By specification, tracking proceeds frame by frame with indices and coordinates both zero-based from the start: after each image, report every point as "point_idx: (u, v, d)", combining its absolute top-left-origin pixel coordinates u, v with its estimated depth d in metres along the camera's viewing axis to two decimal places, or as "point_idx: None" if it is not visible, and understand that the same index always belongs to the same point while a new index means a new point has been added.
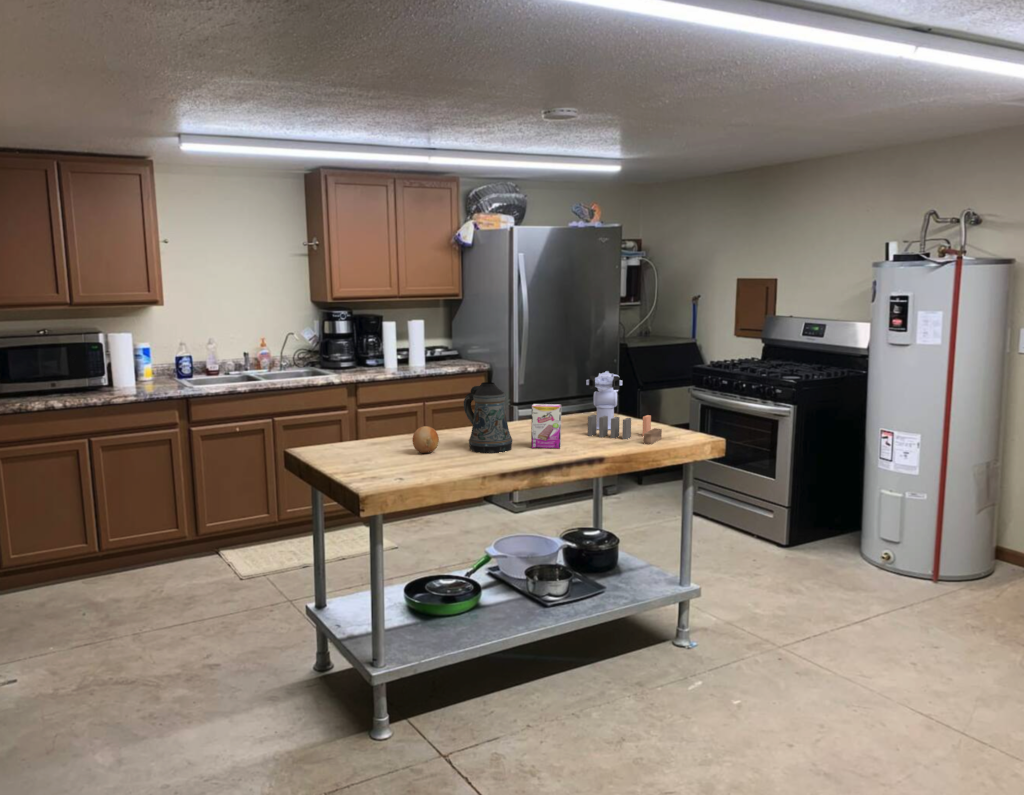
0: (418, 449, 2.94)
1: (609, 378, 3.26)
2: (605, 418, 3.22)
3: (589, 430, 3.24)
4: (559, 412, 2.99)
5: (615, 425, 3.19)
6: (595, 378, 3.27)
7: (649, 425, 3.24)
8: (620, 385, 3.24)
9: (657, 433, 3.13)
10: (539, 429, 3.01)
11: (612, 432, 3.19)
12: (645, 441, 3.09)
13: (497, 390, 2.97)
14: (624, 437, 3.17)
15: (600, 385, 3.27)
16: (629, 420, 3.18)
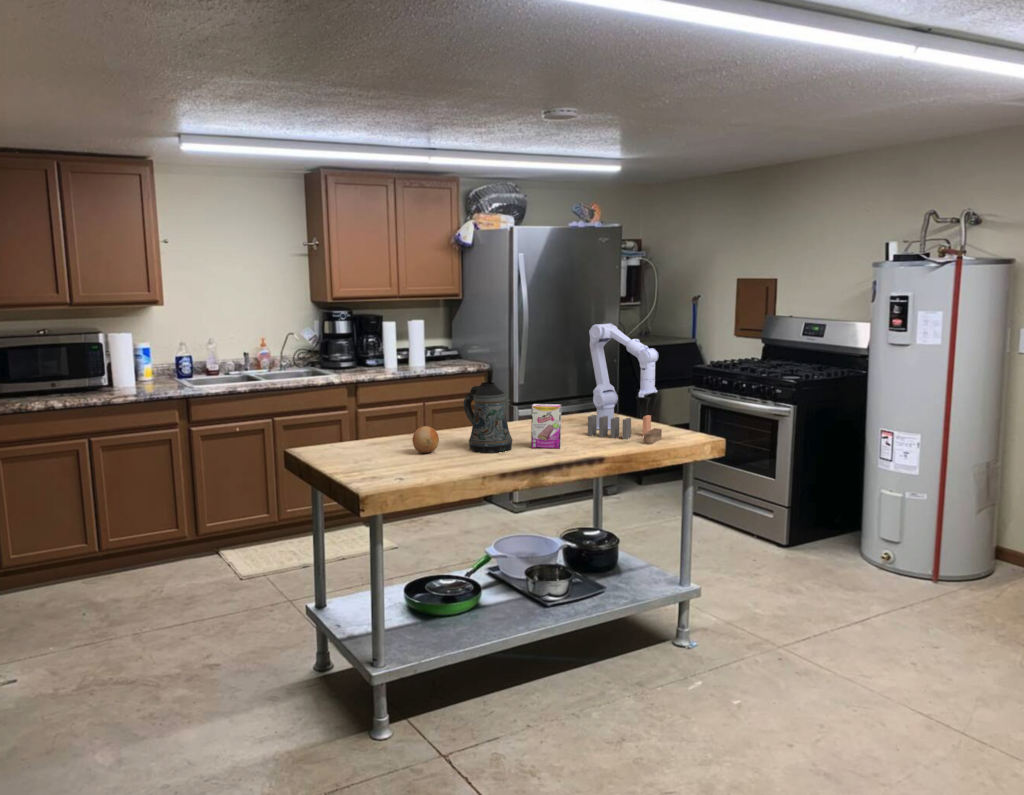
0: (418, 449, 2.94)
1: None
2: (605, 418, 3.22)
3: (589, 430, 3.24)
4: (559, 412, 2.99)
5: (615, 425, 3.19)
6: None
7: (649, 425, 3.24)
8: None
9: (657, 433, 3.13)
10: (539, 429, 3.01)
11: (612, 432, 3.19)
12: (645, 441, 3.09)
13: (497, 390, 2.97)
14: (624, 437, 3.17)
15: None
16: (629, 420, 3.18)
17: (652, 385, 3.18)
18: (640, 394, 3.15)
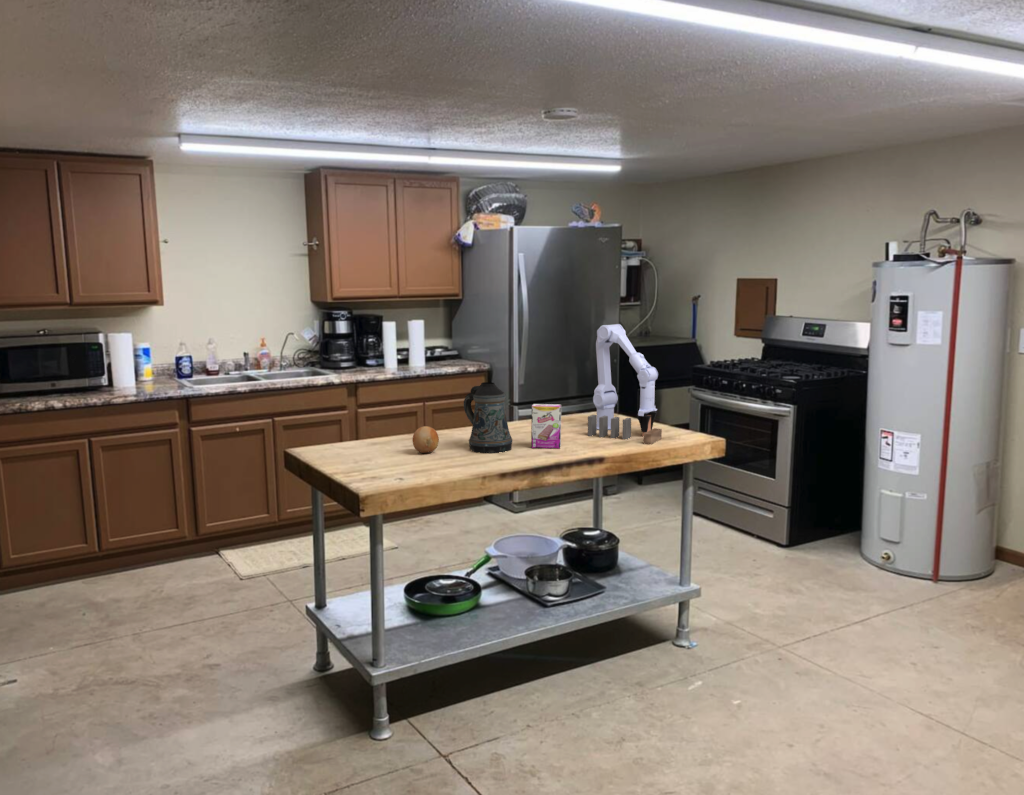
0: (418, 449, 2.94)
1: None
2: (605, 418, 3.22)
3: (589, 430, 3.24)
4: (559, 412, 2.99)
5: (615, 425, 3.19)
6: (647, 412, 3.19)
7: (649, 425, 3.24)
8: None
9: (657, 433, 3.13)
10: (539, 429, 3.01)
11: (612, 432, 3.19)
12: (645, 441, 3.09)
13: (497, 390, 2.97)
14: (624, 437, 3.17)
15: None
16: (629, 420, 3.18)
17: (651, 404, 3.20)
18: (640, 413, 3.16)
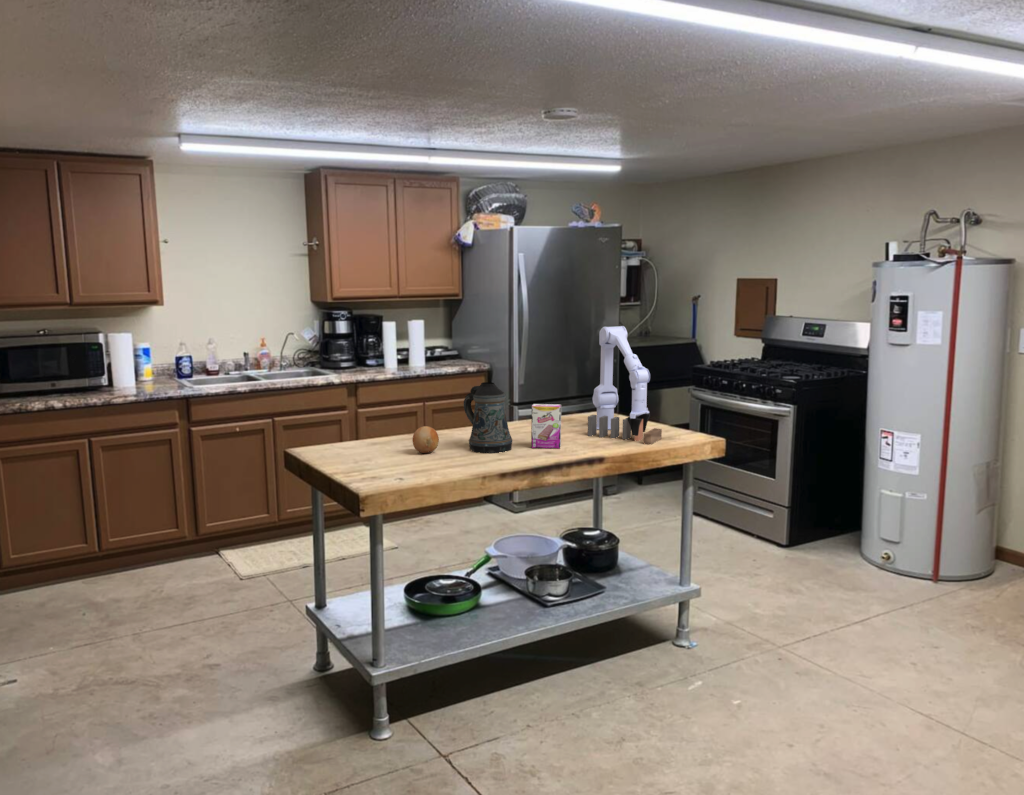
0: (418, 449, 2.94)
1: None
2: (605, 418, 3.22)
3: (589, 430, 3.24)
4: (559, 412, 2.99)
5: (615, 425, 3.19)
6: (639, 414, 3.11)
7: (641, 429, 3.16)
8: None
9: (657, 433, 3.13)
10: (539, 429, 3.01)
11: (612, 432, 3.19)
12: (645, 441, 3.09)
13: (497, 390, 2.97)
14: (624, 437, 3.17)
15: None
16: None
17: (643, 406, 3.12)
18: (631, 415, 3.09)
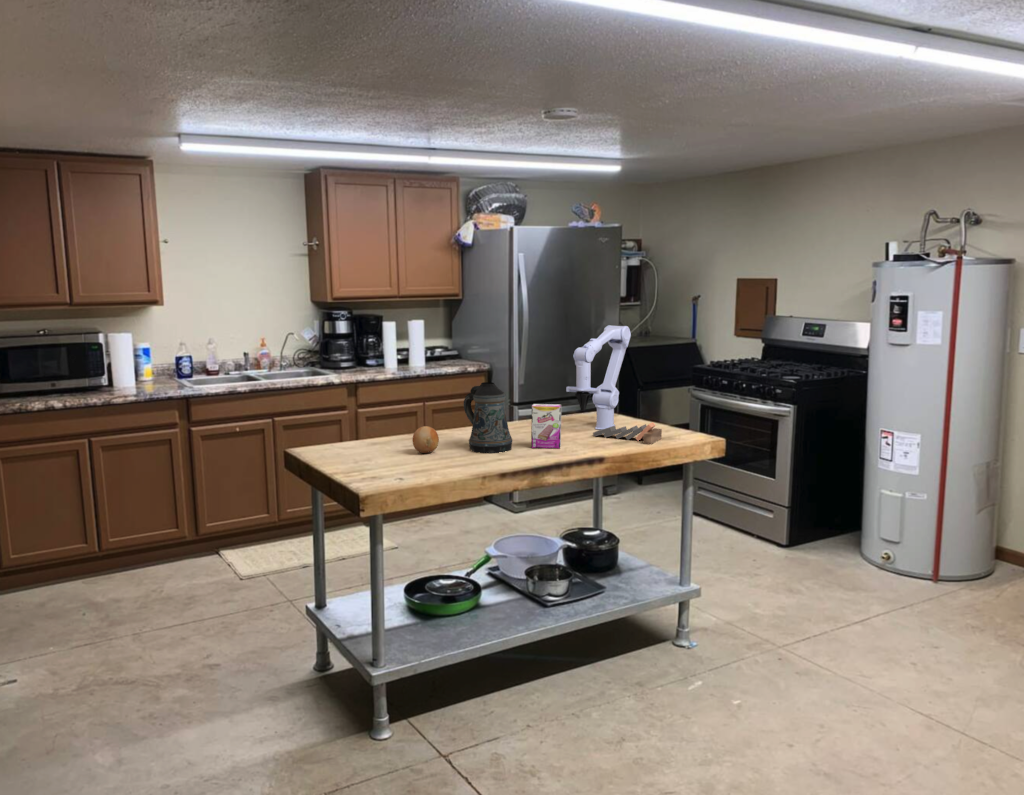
0: (418, 449, 2.94)
1: (586, 390, 3.23)
2: (623, 431, 3.19)
3: (597, 433, 3.22)
4: (559, 412, 2.99)
5: None
6: (573, 389, 3.26)
7: None
8: None
9: (657, 433, 3.13)
10: (539, 429, 3.01)
11: (621, 434, 3.17)
12: (645, 441, 3.09)
13: (497, 390, 2.97)
14: (628, 437, 3.16)
15: None
16: None
17: (577, 383, 3.23)
18: None
